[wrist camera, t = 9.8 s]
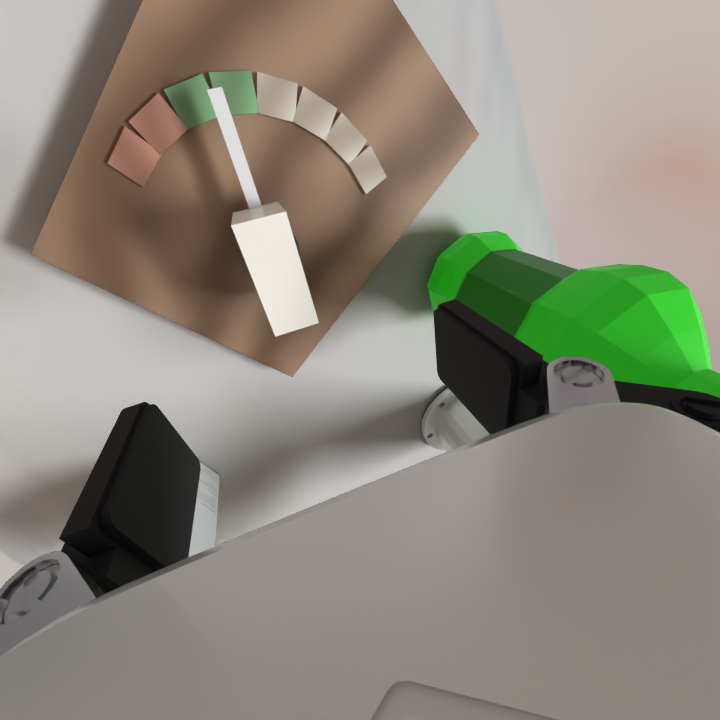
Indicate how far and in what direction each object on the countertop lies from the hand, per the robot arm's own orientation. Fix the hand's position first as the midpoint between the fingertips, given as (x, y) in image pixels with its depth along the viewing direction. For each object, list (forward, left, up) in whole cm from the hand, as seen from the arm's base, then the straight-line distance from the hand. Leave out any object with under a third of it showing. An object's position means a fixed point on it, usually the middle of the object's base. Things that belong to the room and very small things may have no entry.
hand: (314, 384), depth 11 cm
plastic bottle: (-17, -9, -20) cm, 28 cm away
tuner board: (+2, -4, -20) cm, 21 cm away
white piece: (+3, -2, -17) cm, 18 cm away
